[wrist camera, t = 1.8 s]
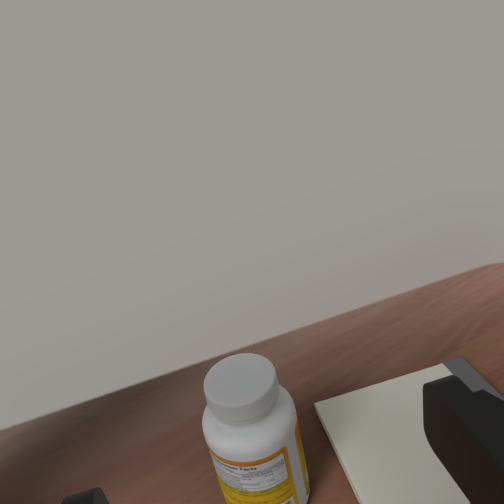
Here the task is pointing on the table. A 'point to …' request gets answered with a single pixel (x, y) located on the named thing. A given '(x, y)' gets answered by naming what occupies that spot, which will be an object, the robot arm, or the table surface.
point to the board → (394, 438)
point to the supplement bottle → (253, 433)
